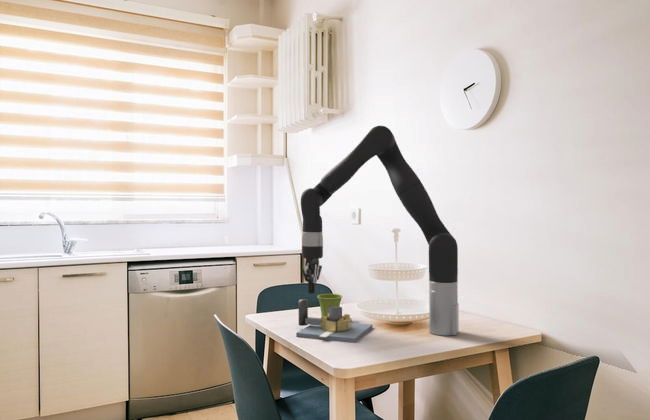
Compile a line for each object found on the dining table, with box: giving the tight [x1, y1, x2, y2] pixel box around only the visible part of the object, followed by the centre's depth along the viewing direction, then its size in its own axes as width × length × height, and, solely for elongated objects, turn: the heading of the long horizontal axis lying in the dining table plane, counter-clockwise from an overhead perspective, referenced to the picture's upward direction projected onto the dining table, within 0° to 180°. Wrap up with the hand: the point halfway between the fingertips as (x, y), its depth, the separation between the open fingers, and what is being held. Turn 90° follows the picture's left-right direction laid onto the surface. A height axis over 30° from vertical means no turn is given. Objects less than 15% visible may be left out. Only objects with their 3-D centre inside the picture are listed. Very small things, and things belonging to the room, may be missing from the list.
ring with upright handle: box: [298, 298, 352, 331], centre depth 166 cm, size 19×10×8 cm, turn 68°
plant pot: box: [316, 293, 343, 317], centre depth 184 cm, size 9×9×9 cm
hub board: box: [295, 306, 374, 343], centre depth 163 cm, size 20×22×8 cm
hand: (312, 293), depth 174 cm, fingers closed
